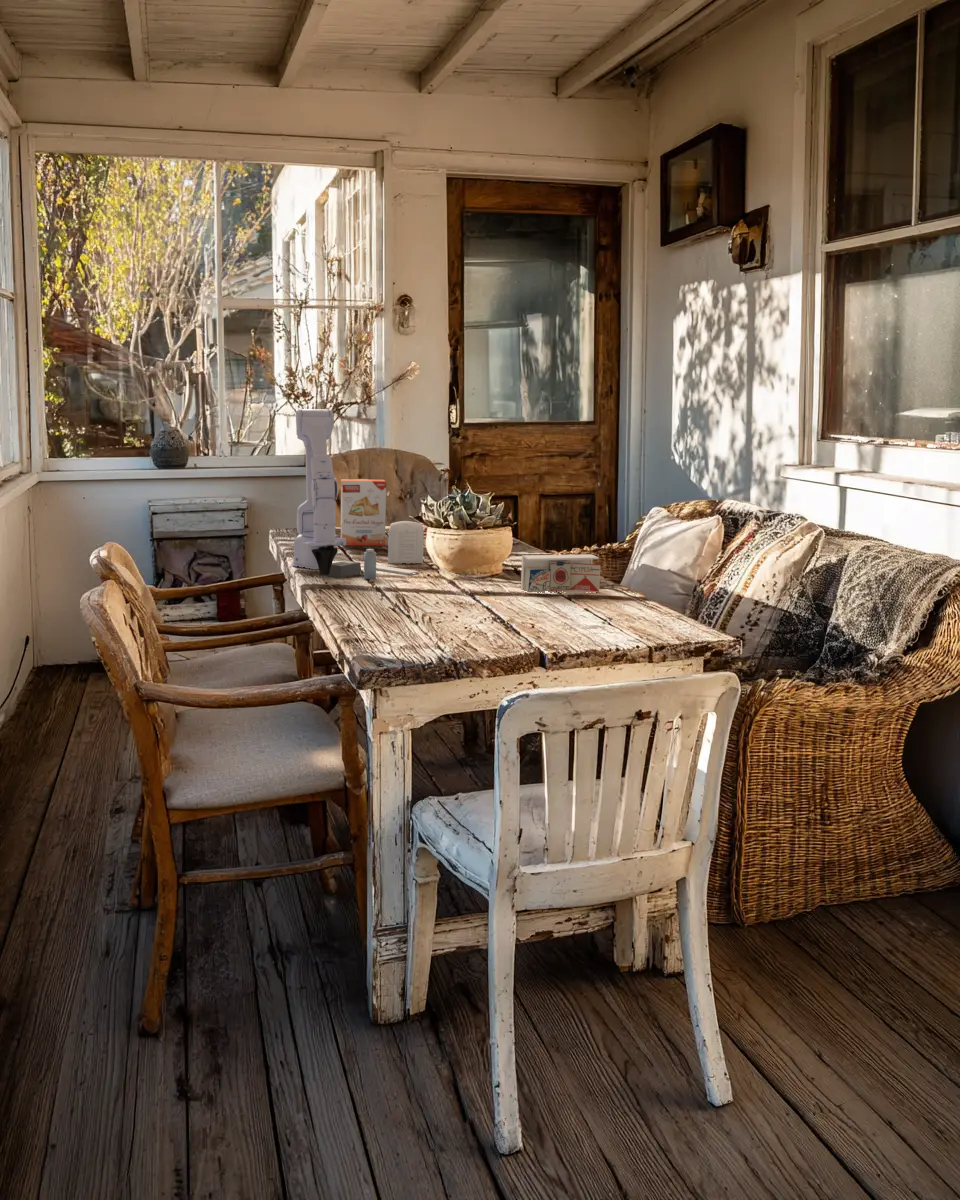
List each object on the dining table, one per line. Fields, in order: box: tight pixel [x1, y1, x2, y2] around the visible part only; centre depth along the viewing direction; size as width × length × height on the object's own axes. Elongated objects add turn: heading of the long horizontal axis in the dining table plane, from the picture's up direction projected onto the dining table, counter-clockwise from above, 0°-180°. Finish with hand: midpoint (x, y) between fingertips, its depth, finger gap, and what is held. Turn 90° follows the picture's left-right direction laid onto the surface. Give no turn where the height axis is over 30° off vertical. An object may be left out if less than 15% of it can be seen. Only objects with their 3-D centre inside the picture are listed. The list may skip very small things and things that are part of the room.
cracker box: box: [340, 478, 387, 547], centre depth 374 cm, size 14×6×21 cm, turn 102°
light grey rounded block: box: [387, 520, 425, 565], centre depth 340 cm, size 10×4×12 cm, turn 98°
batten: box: [376, 564, 420, 575], centre depth 327 cm, size 16×4×1 cm, turn 53°
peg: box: [363, 548, 377, 580], centre depth 314 cm, size 3×3×8 cm
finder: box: [327, 560, 362, 579], centre depth 319 cm, size 5×8×4 cm, turn 144°
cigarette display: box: [520, 553, 601, 594], centre depth 300 cm, size 20×6×9 cm, turn 104°
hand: (324, 574), depth 313 cm, fingers closed
